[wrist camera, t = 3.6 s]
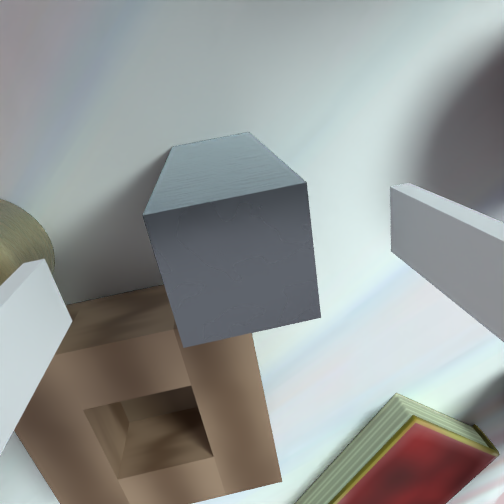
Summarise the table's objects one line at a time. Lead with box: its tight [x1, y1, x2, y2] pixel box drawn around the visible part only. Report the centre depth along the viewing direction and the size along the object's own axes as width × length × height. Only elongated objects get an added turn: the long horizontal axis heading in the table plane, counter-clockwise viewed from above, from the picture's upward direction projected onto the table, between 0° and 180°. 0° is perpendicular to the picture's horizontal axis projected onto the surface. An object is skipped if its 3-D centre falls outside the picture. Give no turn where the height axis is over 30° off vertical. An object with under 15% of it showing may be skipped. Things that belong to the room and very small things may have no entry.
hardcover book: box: [295, 393, 500, 504], centre depth 38 cm, size 12×21×4 cm, turn 148°
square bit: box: [143, 132, 321, 348], centre depth 18 cm, size 5×5×14 cm
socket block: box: [14, 285, 282, 504], centre depth 28 cm, size 16×16×6 cm
